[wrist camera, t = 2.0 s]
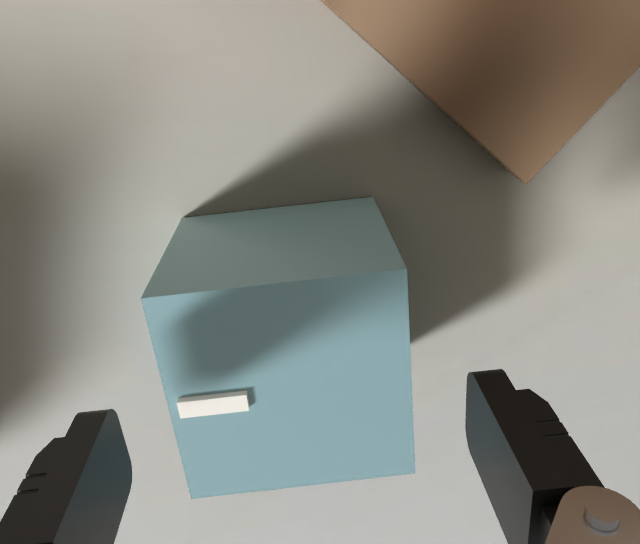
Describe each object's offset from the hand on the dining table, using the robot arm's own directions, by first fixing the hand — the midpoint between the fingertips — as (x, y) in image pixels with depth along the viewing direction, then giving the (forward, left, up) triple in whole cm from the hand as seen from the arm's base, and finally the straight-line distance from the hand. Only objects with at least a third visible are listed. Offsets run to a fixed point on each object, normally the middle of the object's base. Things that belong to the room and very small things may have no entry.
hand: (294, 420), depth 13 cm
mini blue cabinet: (0, +1, -8) cm, 8 cm away
